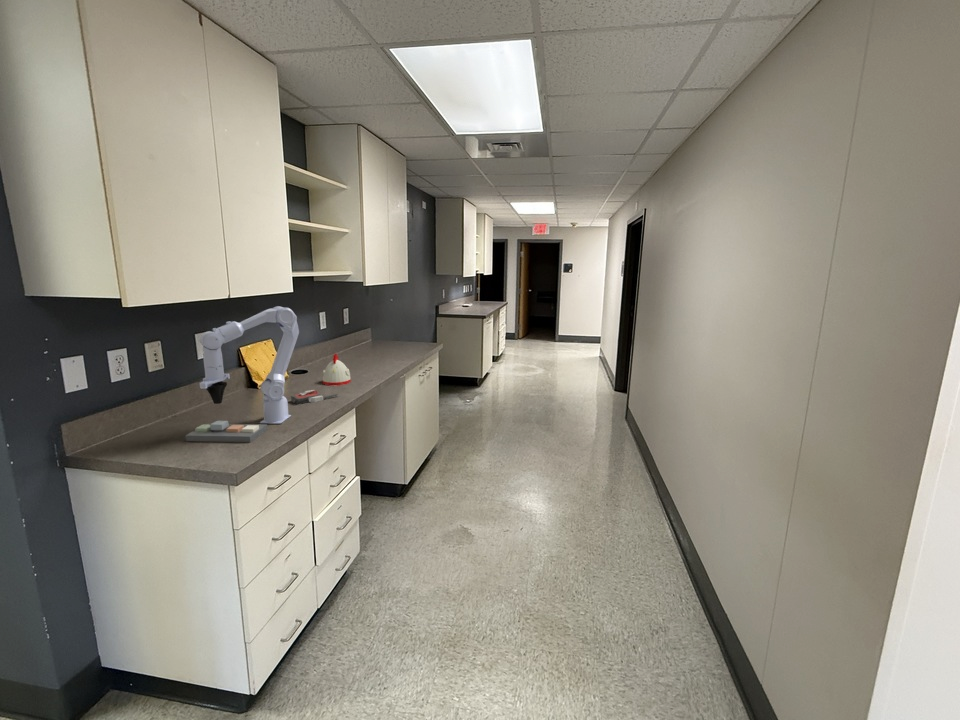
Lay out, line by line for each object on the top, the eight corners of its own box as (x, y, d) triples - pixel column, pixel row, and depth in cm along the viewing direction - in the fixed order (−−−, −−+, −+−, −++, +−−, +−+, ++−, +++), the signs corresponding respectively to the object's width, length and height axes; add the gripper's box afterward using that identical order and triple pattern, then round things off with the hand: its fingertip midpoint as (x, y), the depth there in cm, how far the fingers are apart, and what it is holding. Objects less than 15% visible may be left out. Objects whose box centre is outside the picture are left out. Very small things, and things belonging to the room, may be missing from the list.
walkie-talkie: (297, 407, 191) (339, 397, 205) (296, 397, 190) (339, 388, 204) (288, 402, 197) (329, 393, 211) (287, 393, 196) (329, 384, 210)
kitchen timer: (319, 385, 224) (318, 356, 222) (326, 379, 238) (324, 351, 235) (348, 385, 226) (346, 356, 223) (352, 379, 239) (351, 351, 236)
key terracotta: (233, 432, 158) (232, 424, 158) (244, 433, 158) (243, 425, 158) (227, 437, 155) (226, 428, 154) (238, 437, 154) (237, 429, 154)
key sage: (203, 432, 159) (202, 424, 158) (214, 432, 159) (213, 424, 158) (196, 436, 155) (195, 428, 154) (207, 436, 155) (206, 428, 154)
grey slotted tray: (207, 428, 162) (207, 423, 162) (267, 429, 162) (267, 424, 162) (186, 441, 151) (185, 435, 150) (250, 442, 151) (250, 436, 150)
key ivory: (248, 433, 158) (247, 425, 158) (259, 433, 158) (258, 425, 158) (242, 437, 154) (241, 429, 154) (253, 437, 154) (253, 429, 154)
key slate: (217, 428, 158) (217, 420, 158) (229, 428, 158) (228, 420, 158) (211, 432, 154) (210, 424, 154) (222, 432, 154) (221, 424, 154)
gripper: (214, 361, 163) (218, 397, 166) (188, 370, 149) (193, 409, 151) (234, 361, 163) (237, 397, 166) (209, 370, 149) (214, 409, 151)
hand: (217, 403), depth 158 cm, fingers closed
